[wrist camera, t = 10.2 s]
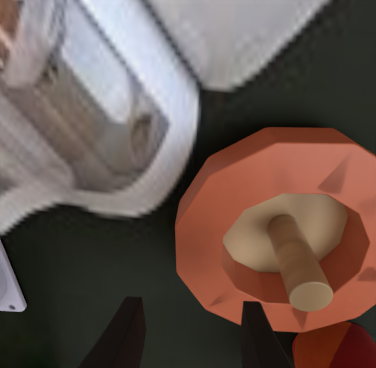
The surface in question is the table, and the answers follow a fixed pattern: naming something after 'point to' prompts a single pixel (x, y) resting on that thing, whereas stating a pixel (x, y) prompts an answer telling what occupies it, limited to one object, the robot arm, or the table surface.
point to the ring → (264, 190)
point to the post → (290, 243)
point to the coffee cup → (335, 347)
